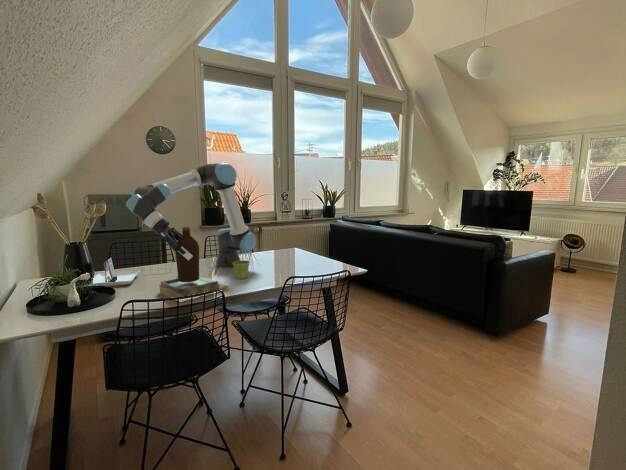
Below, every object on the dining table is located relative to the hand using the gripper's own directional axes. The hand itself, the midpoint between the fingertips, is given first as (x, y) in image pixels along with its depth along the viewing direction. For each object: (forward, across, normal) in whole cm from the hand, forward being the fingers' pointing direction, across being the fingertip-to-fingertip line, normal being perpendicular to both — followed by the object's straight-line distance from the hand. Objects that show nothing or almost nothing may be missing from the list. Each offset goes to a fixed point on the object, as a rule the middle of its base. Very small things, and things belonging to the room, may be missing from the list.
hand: (194, 255), depth 161 cm
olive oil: (+6, 0, -10) cm, 12 cm away
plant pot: (+26, -24, 0) cm, 35 cm away
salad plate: (-20, -21, -47) cm, 55 cm away
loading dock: (+12, -2, -13) cm, 18 cm away
